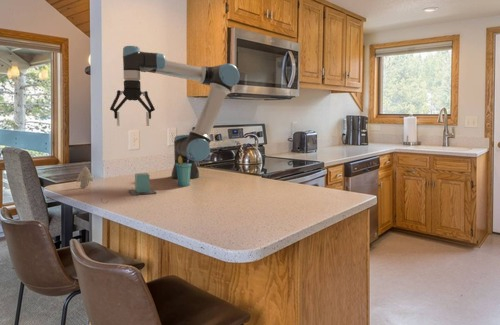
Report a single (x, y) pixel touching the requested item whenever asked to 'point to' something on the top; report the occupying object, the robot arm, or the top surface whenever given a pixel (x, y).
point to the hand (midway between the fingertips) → (133, 125)
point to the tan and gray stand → (142, 192)
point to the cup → (183, 171)
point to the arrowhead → (84, 177)
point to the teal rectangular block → (142, 182)
